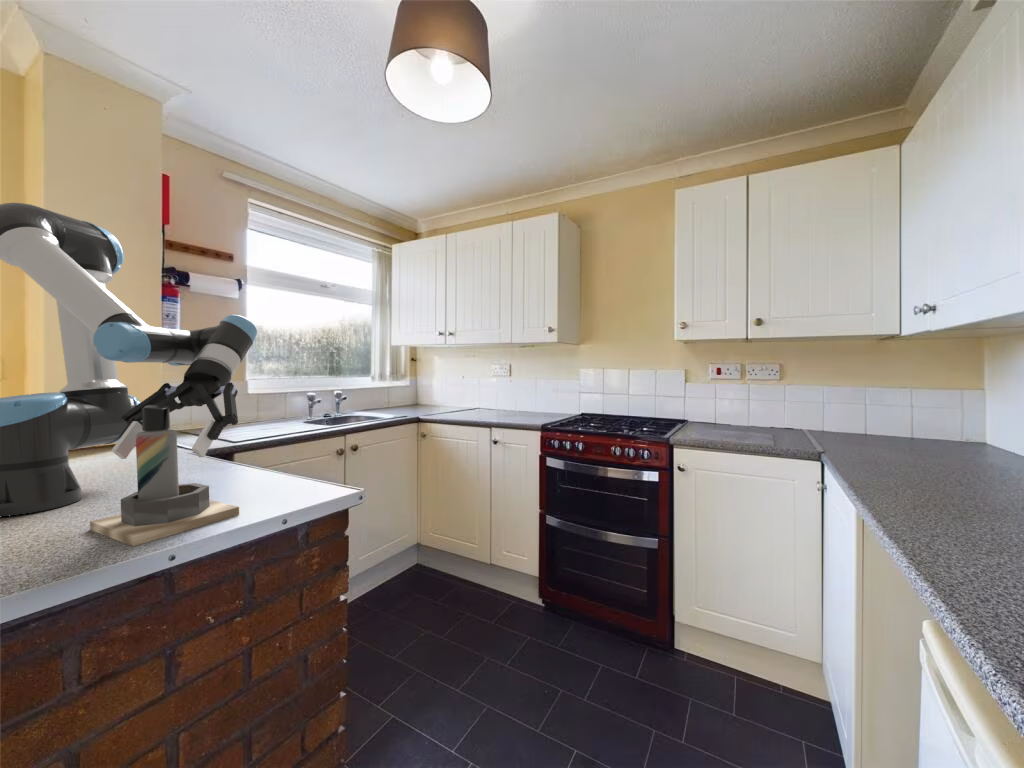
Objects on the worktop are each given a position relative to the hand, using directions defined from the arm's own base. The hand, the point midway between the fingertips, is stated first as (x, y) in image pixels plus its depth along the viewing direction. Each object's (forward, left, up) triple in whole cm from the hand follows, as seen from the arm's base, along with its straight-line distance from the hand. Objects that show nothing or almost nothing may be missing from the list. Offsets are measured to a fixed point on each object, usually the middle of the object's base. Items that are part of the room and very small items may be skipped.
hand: (158, 454), depth 73 cm
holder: (-1, +2, -13) cm, 13 cm away
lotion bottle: (-3, +1, -12) cm, 12 cm away
